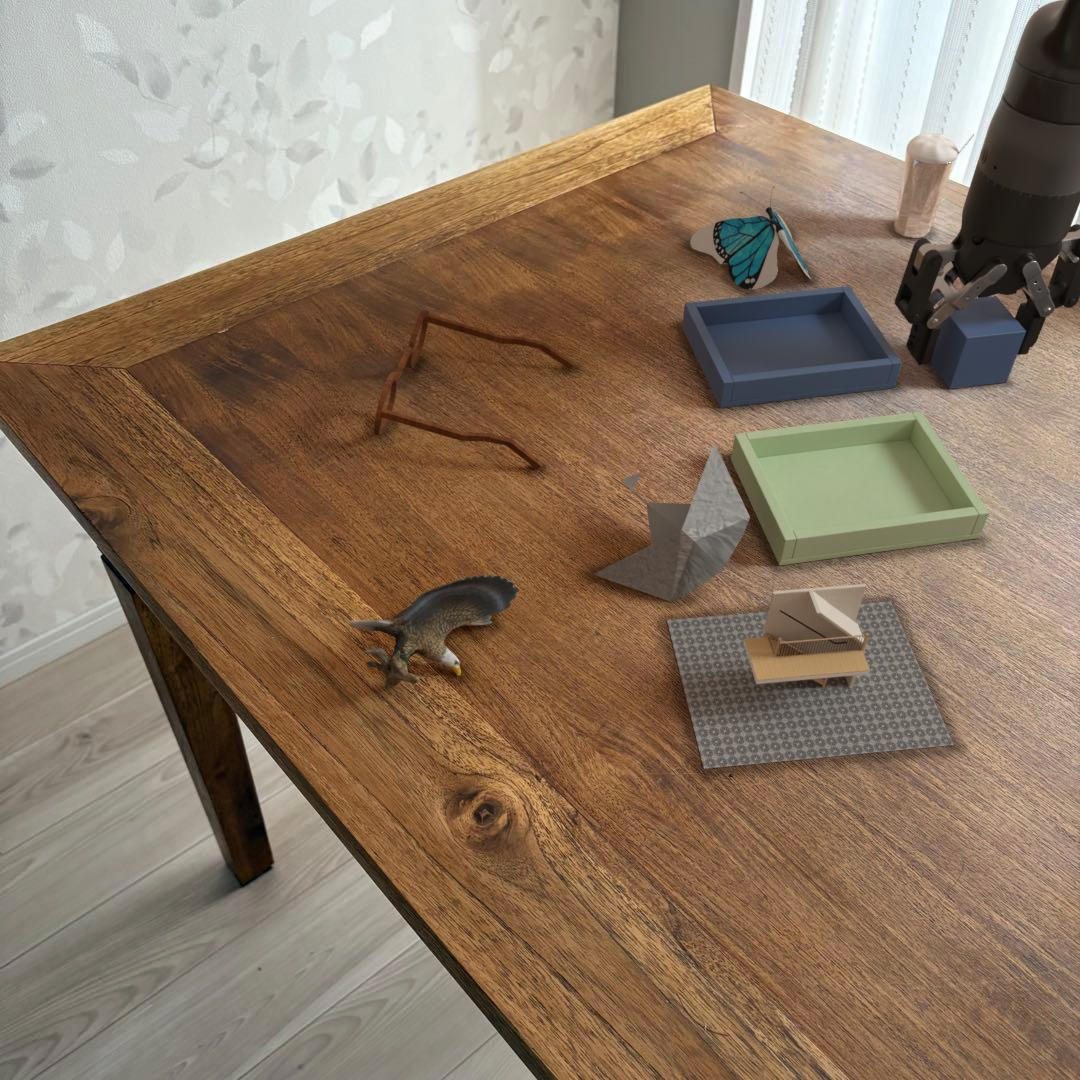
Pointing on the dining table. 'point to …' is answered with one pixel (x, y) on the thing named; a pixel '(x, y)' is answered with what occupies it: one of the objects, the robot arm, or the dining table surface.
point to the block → (977, 344)
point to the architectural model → (804, 680)
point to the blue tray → (789, 346)
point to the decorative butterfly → (748, 247)
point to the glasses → (411, 362)
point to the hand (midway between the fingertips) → (968, 354)
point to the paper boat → (685, 537)
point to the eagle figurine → (437, 623)
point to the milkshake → (924, 182)
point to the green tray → (855, 487)
